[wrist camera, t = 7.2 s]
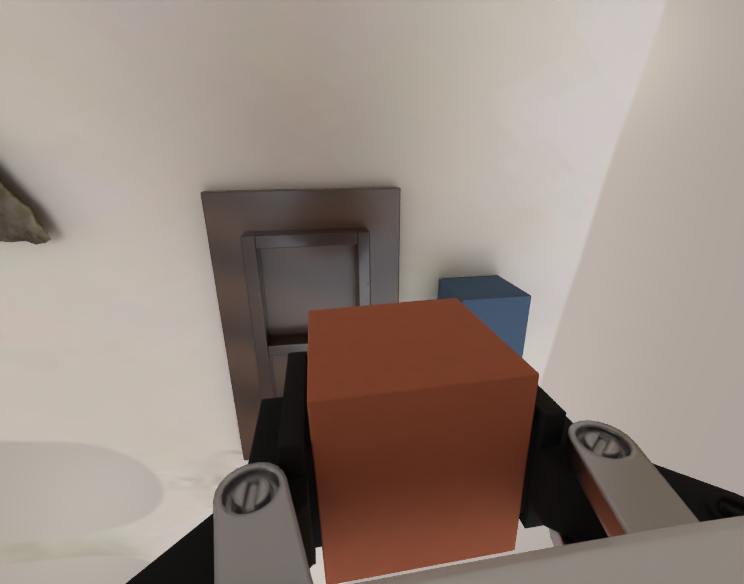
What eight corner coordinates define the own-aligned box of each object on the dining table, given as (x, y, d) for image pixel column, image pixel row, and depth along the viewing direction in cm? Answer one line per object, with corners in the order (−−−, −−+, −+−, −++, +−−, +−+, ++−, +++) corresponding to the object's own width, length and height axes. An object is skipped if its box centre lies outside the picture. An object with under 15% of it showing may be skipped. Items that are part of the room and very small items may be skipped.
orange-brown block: (308, 309, 11) (306, 401, 7) (456, 297, 11) (540, 373, 7) (321, 445, 13) (326, 586, 8) (449, 427, 13) (515, 551, 9)
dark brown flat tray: (204, 190, 22) (192, 194, 20) (397, 186, 24) (406, 189, 22) (245, 451, 29) (240, 476, 27) (393, 433, 31) (400, 455, 28)
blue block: (438, 278, 27) (462, 300, 22) (497, 275, 27) (531, 295, 23) (435, 339, 28) (456, 370, 24) (491, 335, 29) (521, 364, 25)
